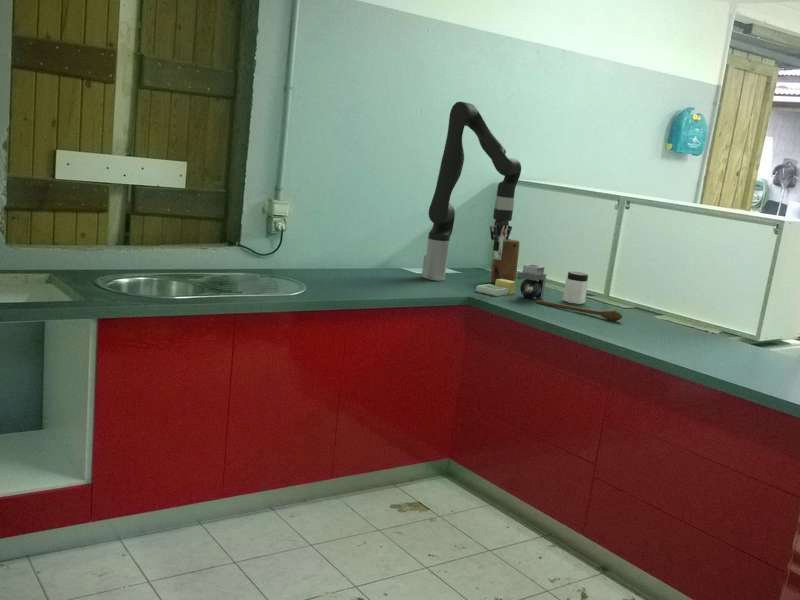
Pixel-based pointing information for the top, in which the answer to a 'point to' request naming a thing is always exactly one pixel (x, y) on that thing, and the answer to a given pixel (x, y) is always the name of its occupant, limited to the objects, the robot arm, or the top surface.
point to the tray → (492, 290)
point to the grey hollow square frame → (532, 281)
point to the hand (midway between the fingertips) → (498, 250)
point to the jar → (575, 287)
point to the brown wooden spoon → (586, 310)
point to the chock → (506, 284)
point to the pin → (498, 253)
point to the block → (506, 262)
